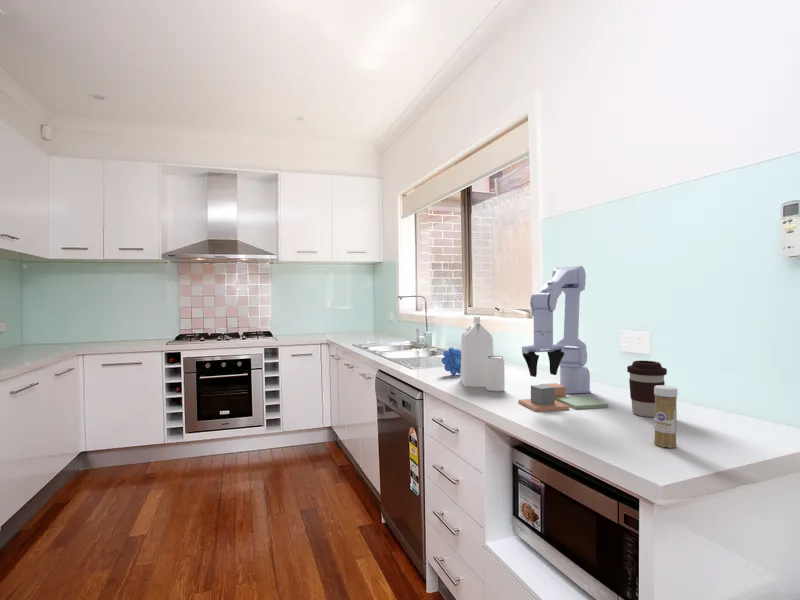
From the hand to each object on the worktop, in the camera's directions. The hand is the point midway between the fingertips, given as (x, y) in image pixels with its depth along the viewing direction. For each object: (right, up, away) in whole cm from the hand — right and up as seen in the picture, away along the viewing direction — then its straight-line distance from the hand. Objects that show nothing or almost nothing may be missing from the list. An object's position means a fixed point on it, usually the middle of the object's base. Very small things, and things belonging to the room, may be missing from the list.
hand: (543, 375), depth 140 cm
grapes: (-21, -9, +53) cm, 57 cm away
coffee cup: (+26, -10, -10) cm, 30 cm away
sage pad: (+12, -9, +2) cm, 16 cm away
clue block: (+7, -9, +11) cm, 16 cm away
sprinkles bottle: (+16, -10, -37) cm, 41 cm away
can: (-10, -9, +23) cm, 27 cm away
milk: (-14, -9, +36) cm, 40 cm away
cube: (0, -8, 0) cm, 8 cm away
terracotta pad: (0, -9, 0) cm, 9 cm away
